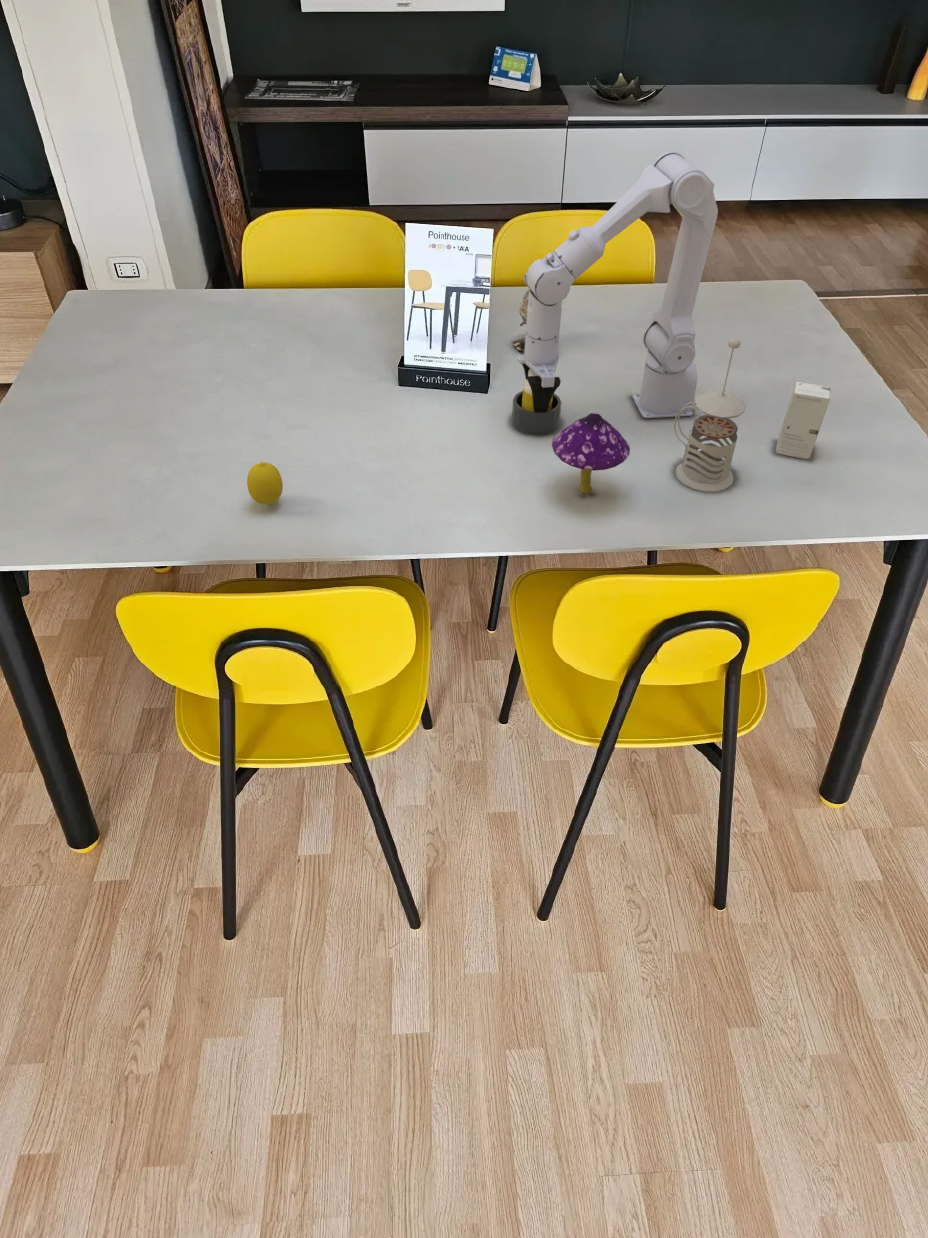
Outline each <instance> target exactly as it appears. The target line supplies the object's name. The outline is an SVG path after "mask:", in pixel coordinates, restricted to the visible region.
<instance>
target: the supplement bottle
mask: <svg viewBox="0 0 928 1238" xmlns="http://www.w3.org/2000/svg"><path fill="white" fill-rule="evenodd" d="M528 376H539V375H538V374H536V373H535V372H534V371H533V370H532V369H531V368H530V369H529V372H528ZM522 391H523V398H522V408H523V409H526V410H528V411H534V408H533V397H532V390H531V387H530V385H529V383H528V380H526V379H525V381H524V382H523V386H522ZM552 399H553V396H552V398H551V401H550V404H549V406H548V409H547V411H549V410H551V408H552Z"/></svg>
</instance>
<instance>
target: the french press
mask: <svg viewBox="0 0 928 1238" xmlns="http://www.w3.org/2000/svg"><path fill="white" fill-rule="evenodd" d="M727 347H729V348H731V353H730V357H729V361H728V366H727V371H726V375H725V378H724V384H723V389H720V390H719V389H718V390H717V389H716V390H708V391H704V392H701V393H700V394H699V395H697V396H696V398H695V400H694V401H693V402H690V403H688V404H686V405H685V406H684V407H683V408H682V409H681V410H680V411H679V413H678V414H677V416H676V417H674V423H673V430H674V433H675V434H674V435H675V436H676V438H677V439H678V441H680V442H681V443H682V444H683V446H685V449H684V454H683V459H682V462H681V463H680V464H678V465H676V469H675V471H674V472H675V475H676V478H677V479H678V480H679V481H680V482H681V483H682V484H683V485H684V486H687V487H689V488H690V489H693V490H696V491H701V492H719V491H723V490H727V488H729V487H730V486H731V485H733V481H734V476H733V473H732V471H731V470H730V469H731V465H732V461H733V457H734V452H735V449H736V446H737V445H736V444H737V440H738V434H737V432H738V429H739V428H738V425H737V423H736V422H735V421H733V420H732V419H734V418H735V419H736V418H739V417H740V416H741V415H743V414H744V413H745V411H746V410H747V405H746V403H745V400H743V399H741V397H739V396H738V395H736V394H735V393H733V392H730V391H727V390H726V391H725V389H726V384H727V380H728V377H729V371H730V367H731V362H732V358H733V354H734V350H735V349H739V348H741V341H740V340H739V338H738V337H732V338H730V339H728V341H727ZM690 404H695V405H696V407H695V406H693V405H692V406H688V405H690ZM686 406H688V407H686ZM691 407H692V415H693V414H694V415H695V414H696V413H697V412H698V410H699V411H701V412H702V414H703V415H699V416H698V417H697V418H695V419H694V421H693V426H692V429H690V430H689V434H688V437H687V436H686V435H685V434H684V432H683V431H682V429H681V425H680V419H681V416H680V415H681V412H682V411H683V410H685V409H686V408H691ZM678 415H679V416H678ZM676 425H677V426H678V431H679V432H680V434H681V435H682V436H683V438H685V439H686V441H687V444H686V443H685V442H684V441H683V440H682V439H681V438H680V436H679V435H678V433H677V426H676ZM703 436H704V437H703ZM701 437H703V438H701ZM728 439H729V440H730V442H731V443H730V442H729V440H728ZM722 440H723V442H722ZM708 441H712V442H715V443H718V444H719V445H716V444H715V443H711V442H708ZM703 442H708V443H703ZM724 443H725V444H726V445H725V444H724ZM723 458H724V459H723Z"/></svg>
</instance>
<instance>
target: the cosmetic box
mask: <svg viewBox="0 0 928 1238" xmlns="http://www.w3.org/2000/svg"><path fill="white" fill-rule="evenodd" d="M831 390H832V389H831V387H828V386H823V385H819V384H814V383H807V382H801V381H795V382H794V385H793V388H792V393H791V395H790V398H789V401H788V405H787V408H786V411H785V415H784V418H783V421H782V425H781V428H780V431H779V434H778V438H777V441H776V448H775V453H776V454H778V455H783V456H787V457H793V458H798V459H802V460H809V459H811V457H812V453H813V450H814V448H815V444H816V441H817V439H818V435H819V433H820V429H821V428H822V427H821V426H822V423H823V421H824V418H825V415H826V412H827V409H828V406H829V405H830V400H831V392H832V391H831Z"/></svg>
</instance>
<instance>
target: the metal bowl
mask: <svg viewBox="0 0 928 1238" xmlns="http://www.w3.org/2000/svg"><path fill="white" fill-rule="evenodd" d="M522 398H523V390H522V391H519V392H518V393H516V394H515V395H514V396H513V399H512V408H511V424H512V426H513V427H514V428H515V430H517V431H518V432H520V433H523V434H525V435H531V436H544V435H550V434H552V433H554V432H555V431H556V430H558V428H559V426H560V422H561V412H562V399H561V398H560V396H559V395H558V394H556V393H555V392H554V394H553V399H552V408H551V410H549V411H546V412H534V411H528V410H526V409H523V408H522Z"/></svg>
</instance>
